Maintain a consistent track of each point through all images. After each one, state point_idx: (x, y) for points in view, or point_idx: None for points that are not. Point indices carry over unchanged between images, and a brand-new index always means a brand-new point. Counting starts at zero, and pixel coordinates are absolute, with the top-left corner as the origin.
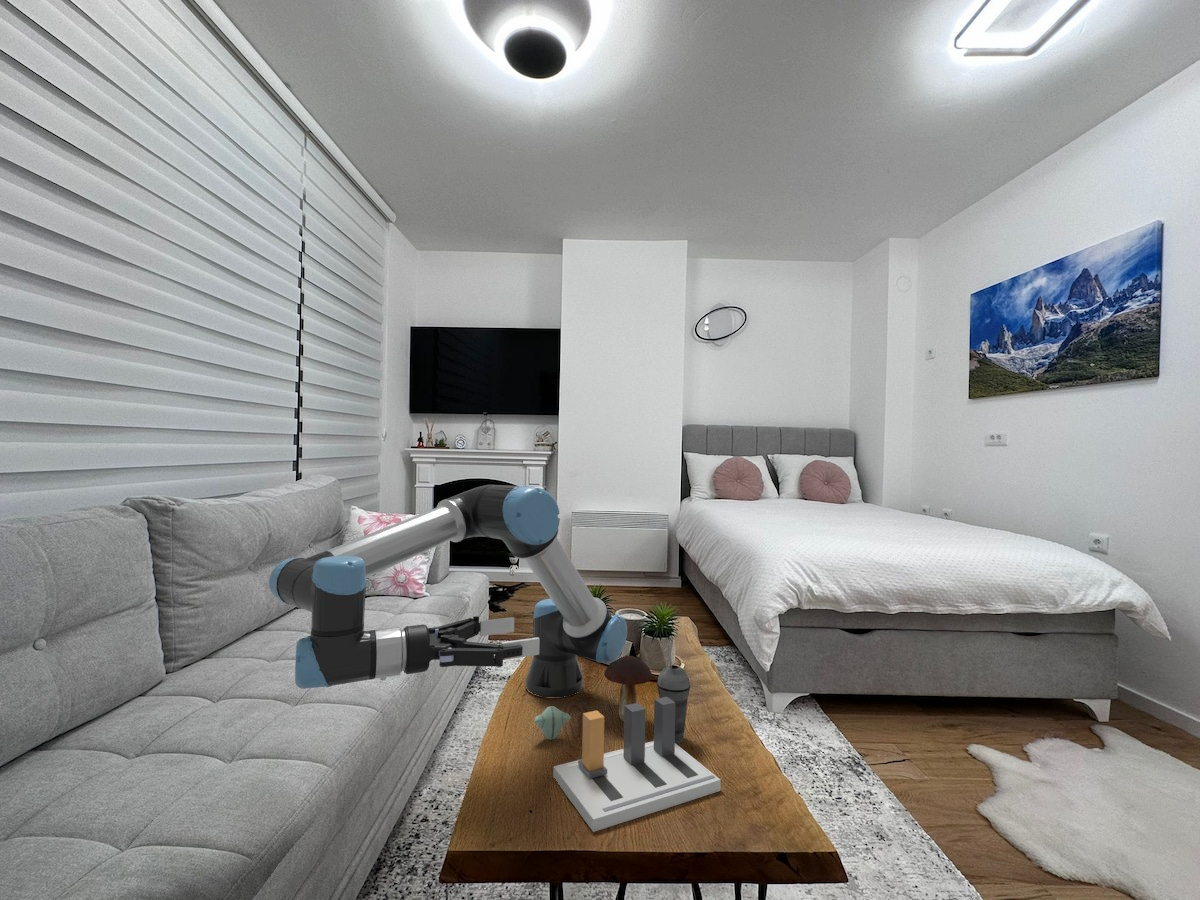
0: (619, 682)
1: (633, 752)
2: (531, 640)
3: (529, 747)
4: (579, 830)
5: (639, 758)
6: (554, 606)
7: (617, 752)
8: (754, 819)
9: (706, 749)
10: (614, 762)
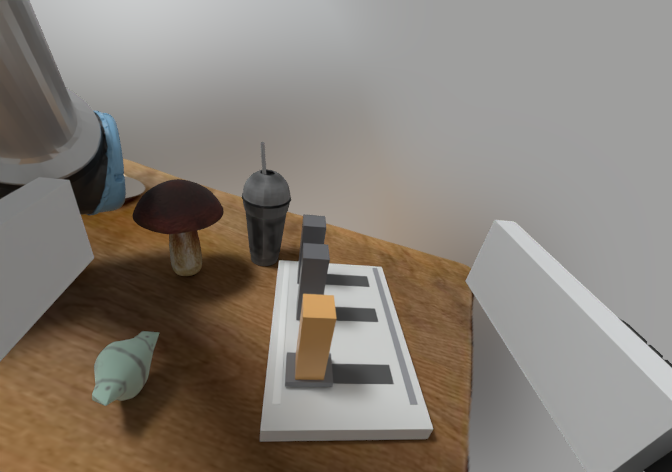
0: (196, 228)
1: None
2: (538, 249)
3: (120, 448)
4: (420, 459)
5: None
6: None
7: (279, 320)
8: (427, 279)
9: None
10: None
